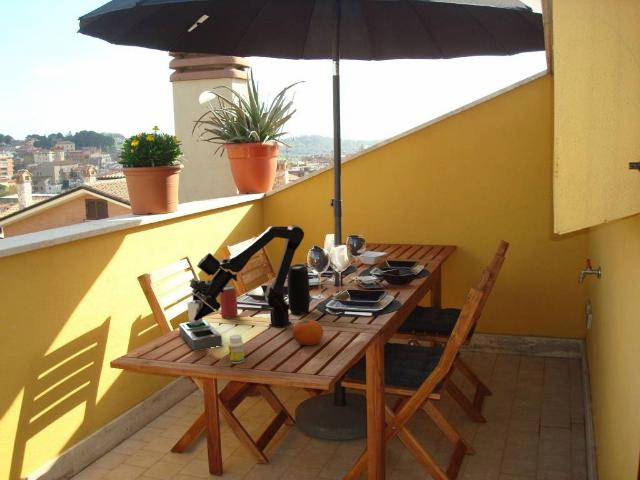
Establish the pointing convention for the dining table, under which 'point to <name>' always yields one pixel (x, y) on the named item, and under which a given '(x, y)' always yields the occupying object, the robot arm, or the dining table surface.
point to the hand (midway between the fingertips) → (191, 316)
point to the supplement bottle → (236, 349)
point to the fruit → (307, 332)
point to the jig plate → (200, 336)
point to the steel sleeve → (194, 313)
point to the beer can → (228, 302)
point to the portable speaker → (298, 289)
